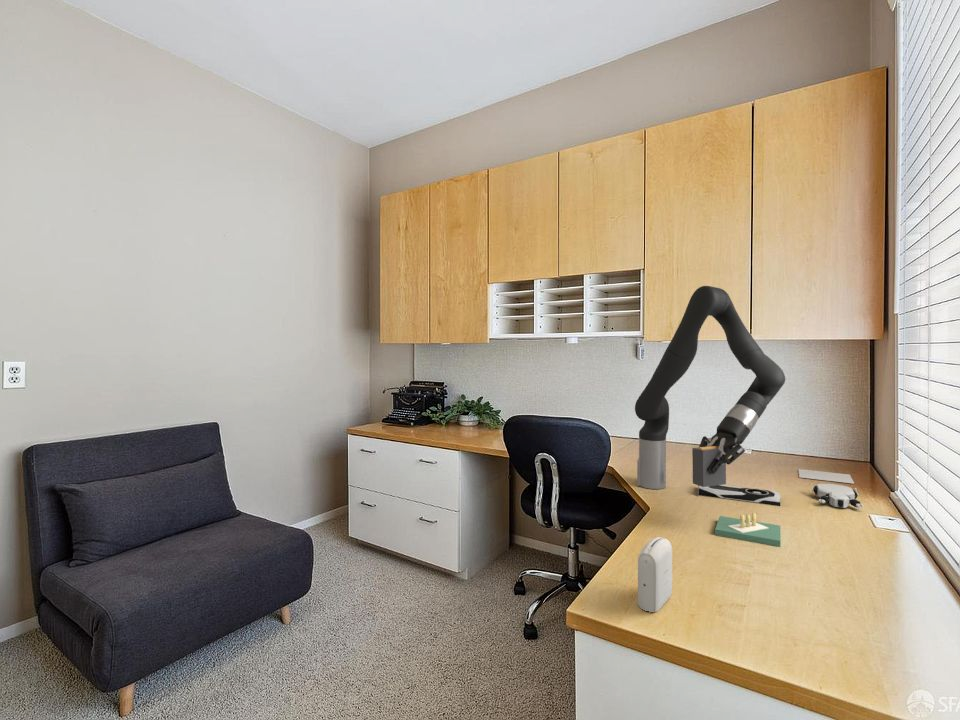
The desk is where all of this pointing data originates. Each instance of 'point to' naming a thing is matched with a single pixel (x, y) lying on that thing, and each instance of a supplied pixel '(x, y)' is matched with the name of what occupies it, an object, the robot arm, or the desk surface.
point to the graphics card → (741, 494)
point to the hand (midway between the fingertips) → (703, 470)
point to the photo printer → (654, 574)
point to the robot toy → (836, 495)
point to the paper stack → (825, 476)
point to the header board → (748, 530)
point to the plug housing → (702, 462)
